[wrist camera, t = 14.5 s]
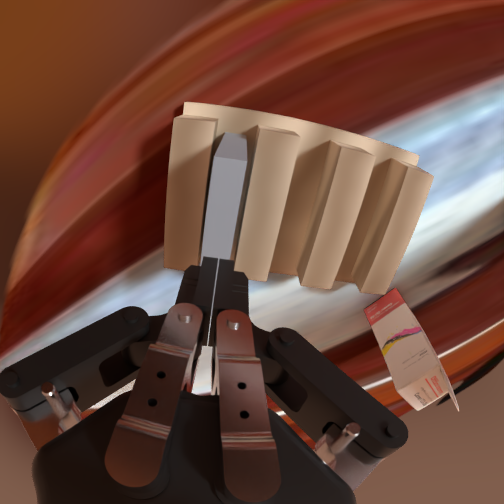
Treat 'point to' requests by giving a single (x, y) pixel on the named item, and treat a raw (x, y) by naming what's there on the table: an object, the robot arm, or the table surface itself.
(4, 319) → the table surface
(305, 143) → the rack
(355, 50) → the table surface
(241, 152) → the panel
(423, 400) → the ink cartridge box
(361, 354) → the table surface
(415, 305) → the table surface
